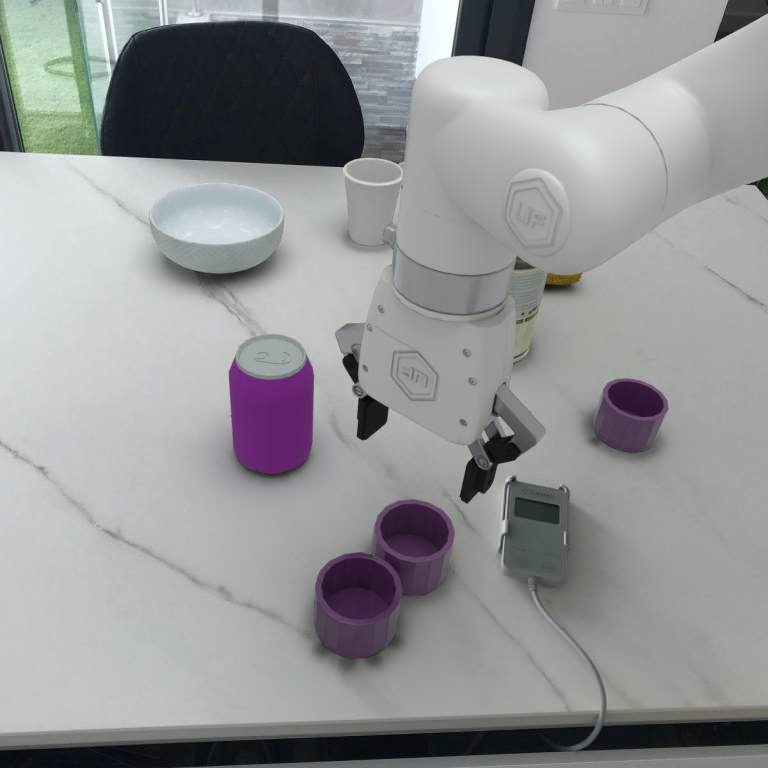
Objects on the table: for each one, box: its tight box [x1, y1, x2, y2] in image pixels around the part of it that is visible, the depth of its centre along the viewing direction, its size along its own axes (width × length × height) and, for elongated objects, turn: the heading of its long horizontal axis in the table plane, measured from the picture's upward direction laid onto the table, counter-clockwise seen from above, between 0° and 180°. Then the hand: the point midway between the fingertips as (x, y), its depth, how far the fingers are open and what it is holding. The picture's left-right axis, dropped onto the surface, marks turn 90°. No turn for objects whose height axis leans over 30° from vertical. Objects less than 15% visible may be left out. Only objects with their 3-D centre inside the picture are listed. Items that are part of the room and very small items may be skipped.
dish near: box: [313, 551, 403, 659], centre depth 61 cm, size 7×7×4 cm
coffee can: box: [508, 256, 548, 364], centre depth 89 cm, size 10×10×14 cm
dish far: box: [592, 377, 670, 453], centre depth 81 cm, size 7×7×4 cm
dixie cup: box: [342, 157, 403, 247], centre depth 108 cm, size 8×8×10 cm
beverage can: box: [228, 333, 315, 475], centre depth 72 cm, size 8×8×12 cm
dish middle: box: [370, 498, 456, 596], centre depth 65 cm, size 7×7×4 cm
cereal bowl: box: [148, 182, 285, 275], centre depth 101 cm, size 17×17×7 cm
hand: (421, 460), depth 60 cm, fingers open, 9 cm apart
